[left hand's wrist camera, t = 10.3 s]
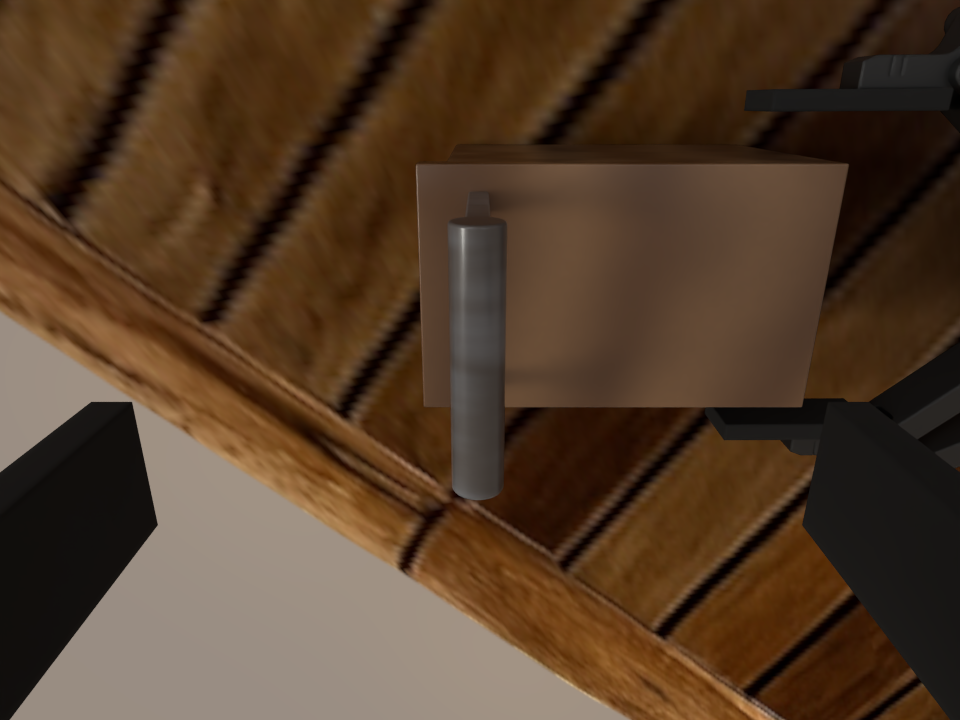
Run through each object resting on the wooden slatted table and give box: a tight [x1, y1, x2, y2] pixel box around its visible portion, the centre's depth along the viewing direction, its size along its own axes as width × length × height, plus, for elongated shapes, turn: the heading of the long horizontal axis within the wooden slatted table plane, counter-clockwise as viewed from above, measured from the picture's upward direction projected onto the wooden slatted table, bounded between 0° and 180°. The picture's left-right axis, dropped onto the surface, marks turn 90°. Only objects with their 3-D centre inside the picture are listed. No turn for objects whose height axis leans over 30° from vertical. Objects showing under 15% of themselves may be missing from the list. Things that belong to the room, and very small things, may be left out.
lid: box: [416, 162, 849, 500], centre depth 21 cm, size 15×9×9 cm, turn 90°
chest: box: [447, 145, 834, 162], centre depth 30 cm, size 14×9×10 cm, turn 90°
